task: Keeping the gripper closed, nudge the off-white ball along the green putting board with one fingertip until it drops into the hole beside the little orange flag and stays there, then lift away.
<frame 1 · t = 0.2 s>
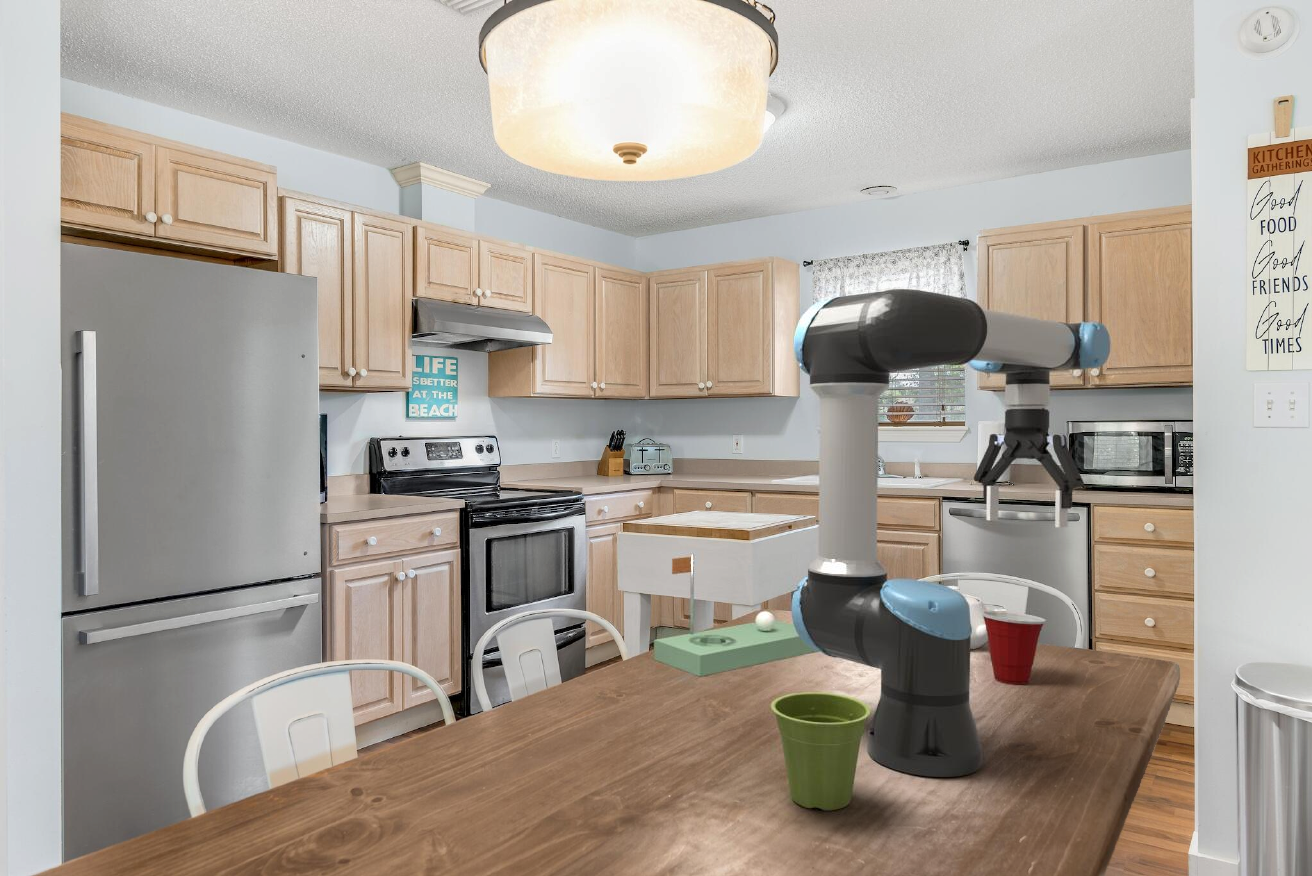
hand: (1025, 523, 157), 28 cm above the table, fingers open, 13 cm apart
plastic cup: (1012, 681, 154), on the table
teapot: (955, 646, 179), on the table
plant pot: (819, 800, 103), on the table
ball: (765, 621, 174), point 6 cm above the table, touching putting board
flag: (691, 634, 170), resting on putting board
putting board: (739, 654, 169), on the table
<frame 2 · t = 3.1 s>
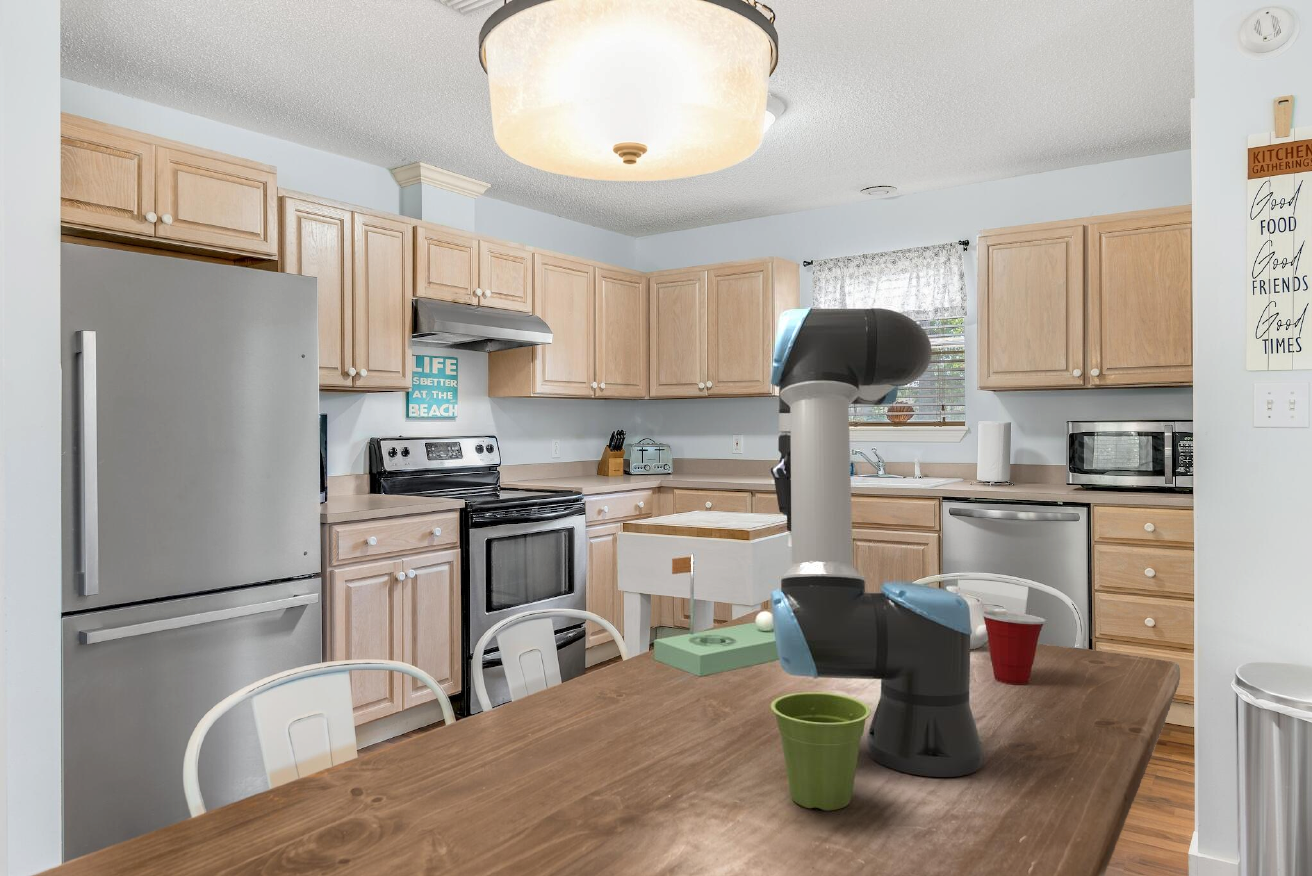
hand: (795, 546, 179), 20 cm above the table, fingers closed
nothing on the table moved.
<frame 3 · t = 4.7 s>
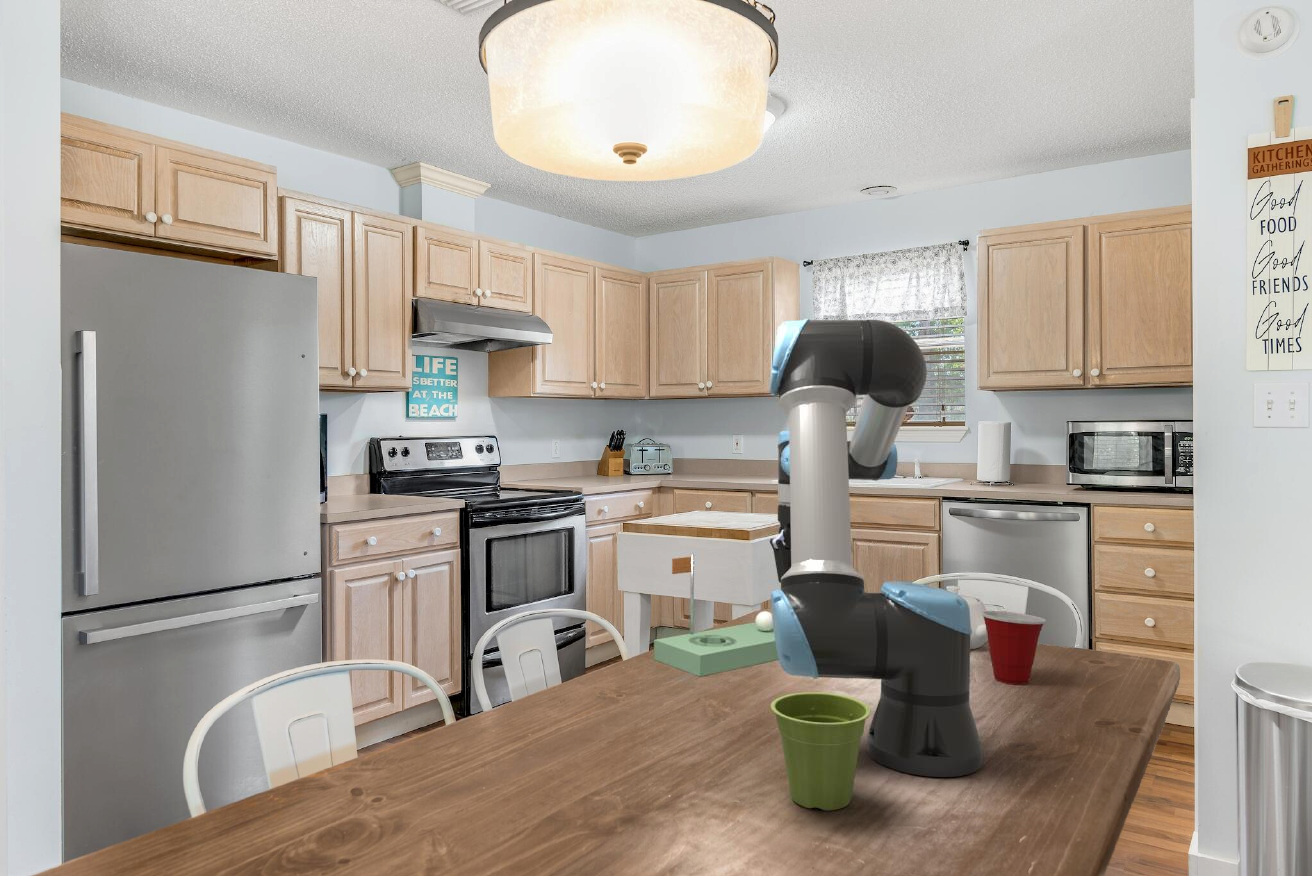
hand: (794, 616, 179), 6 cm above the table, fingers closed
nothing on the table moved.
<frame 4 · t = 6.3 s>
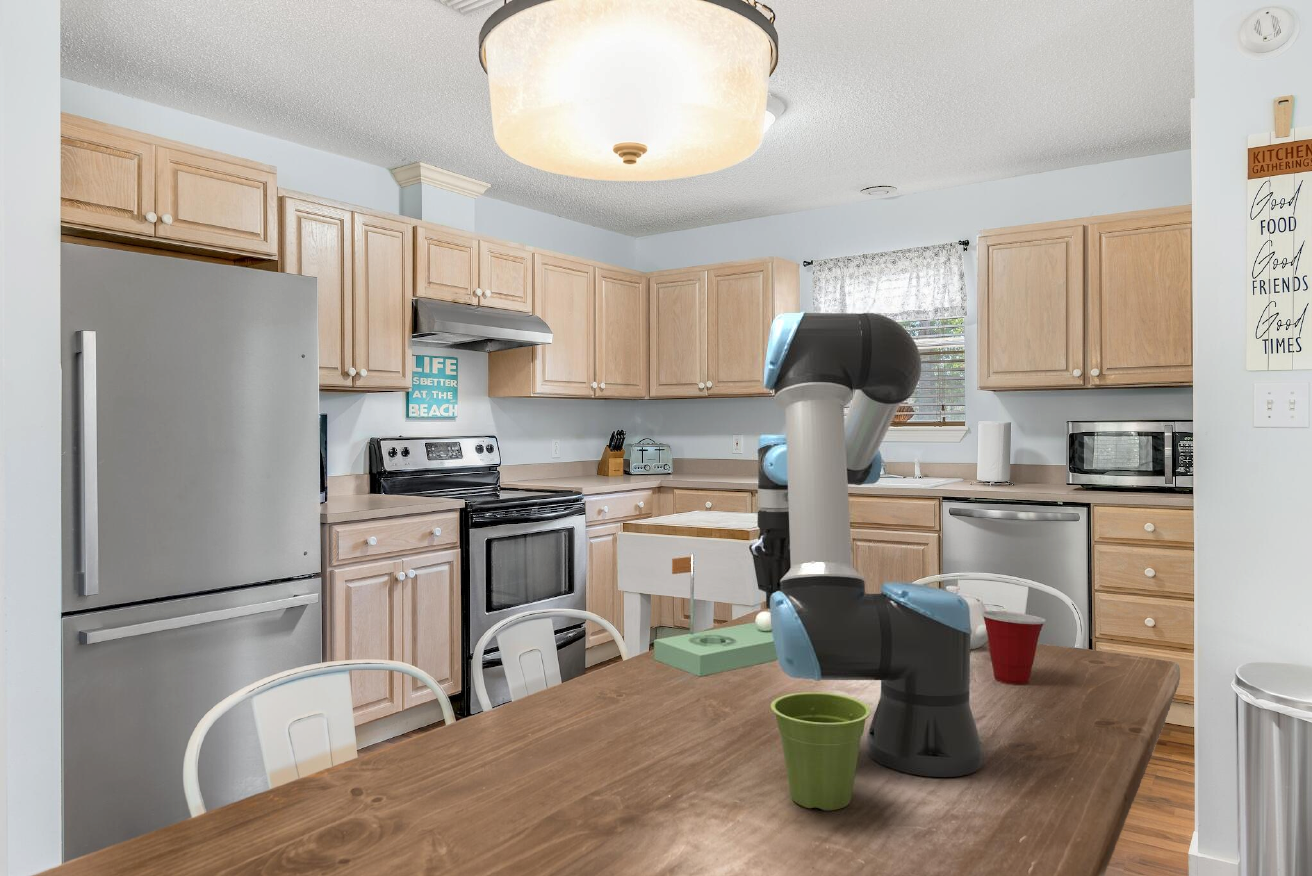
hand: (774, 624, 175), 5 cm above the table, fingers closed
ball: (765, 621, 174), point 6 cm above the table, touching gripper, putting board
everything else where it was.
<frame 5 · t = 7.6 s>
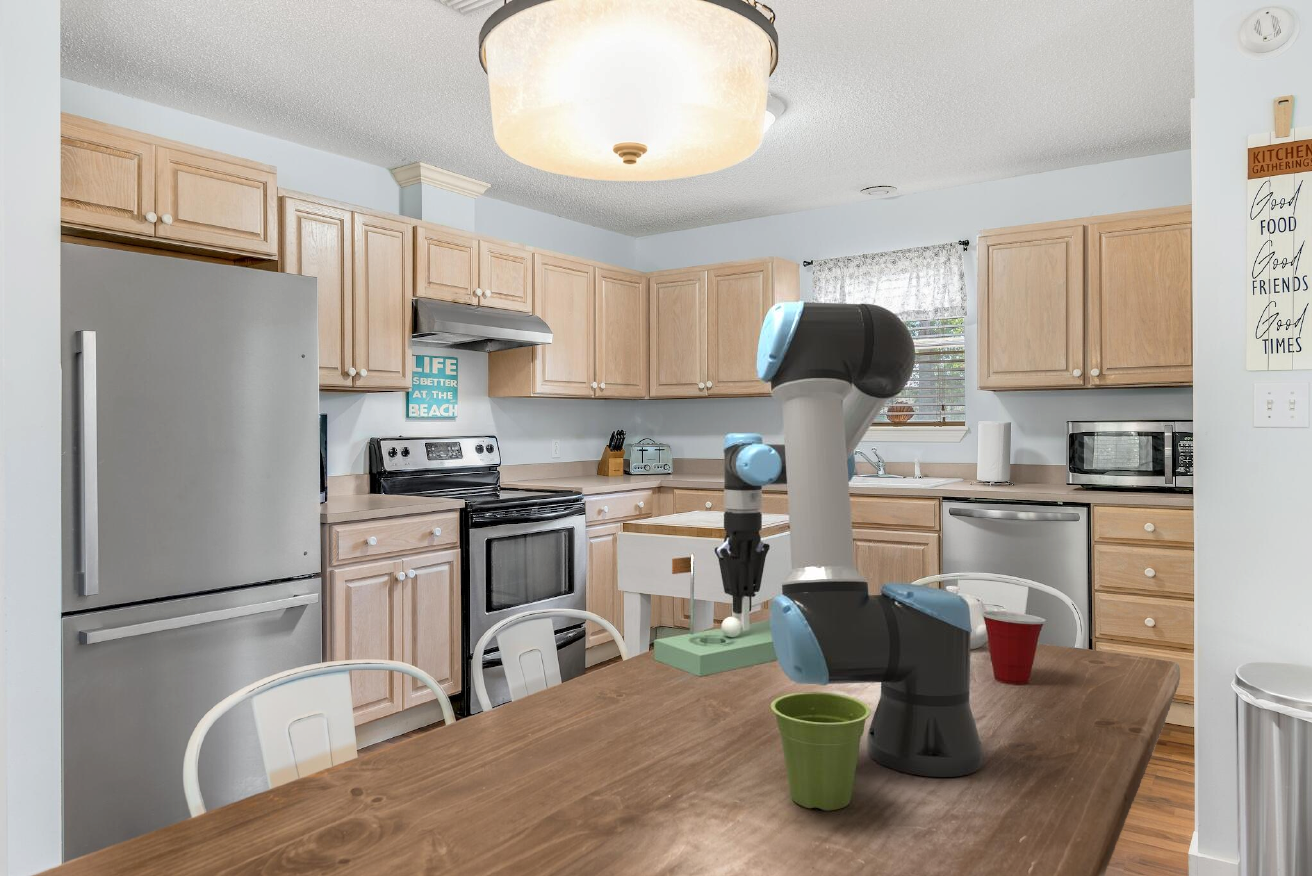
hand: (741, 628, 170), 5 cm above the table, fingers closed
ball: (731, 627, 168), point 6 cm above the table, tilted 155°, touching gripper, putting board
everything else where it was.
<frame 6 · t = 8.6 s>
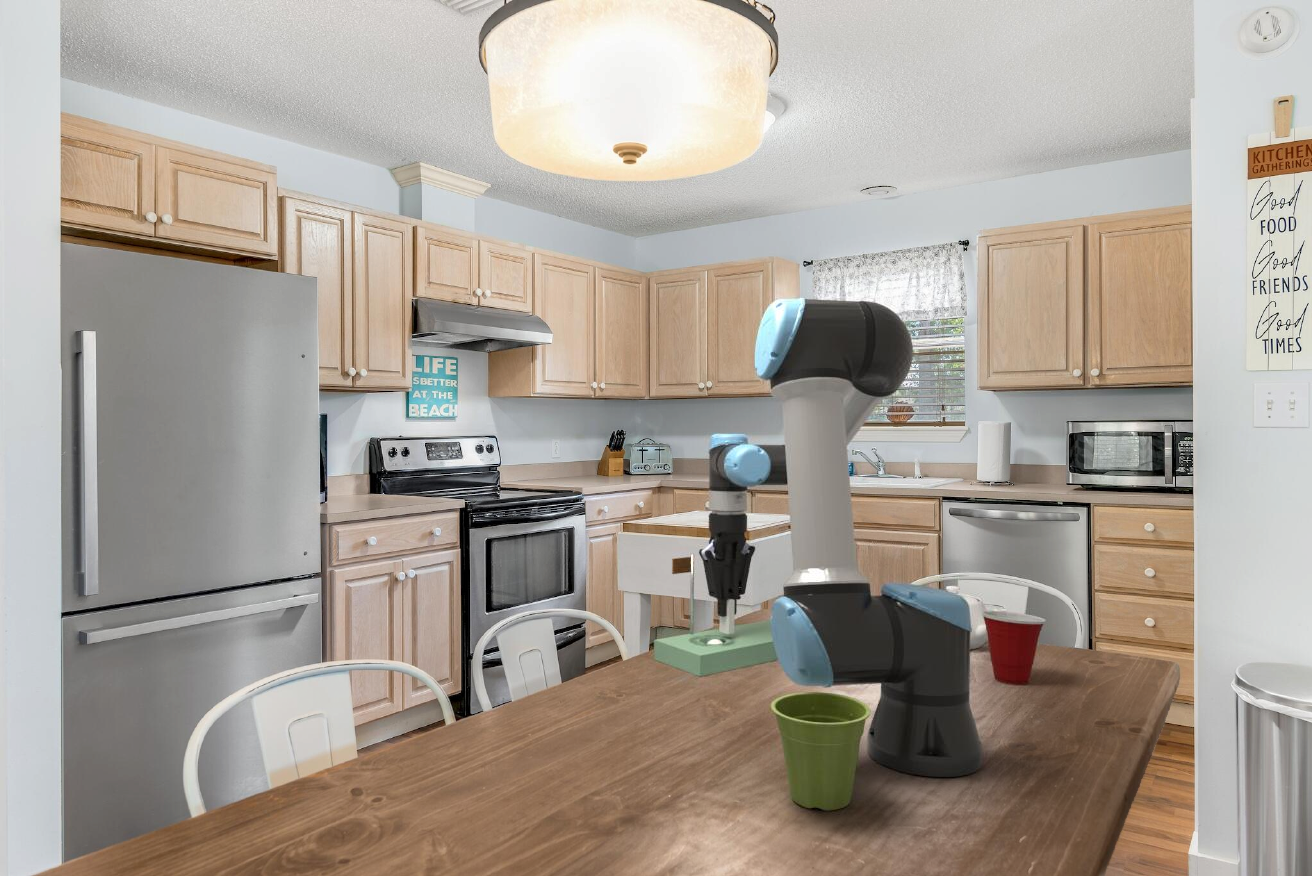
hand: (726, 632, 167), 5 cm above the table, fingers closed
ball: (715, 649, 166), point 2 cm above the table, tilted 25°
everything else where it was.
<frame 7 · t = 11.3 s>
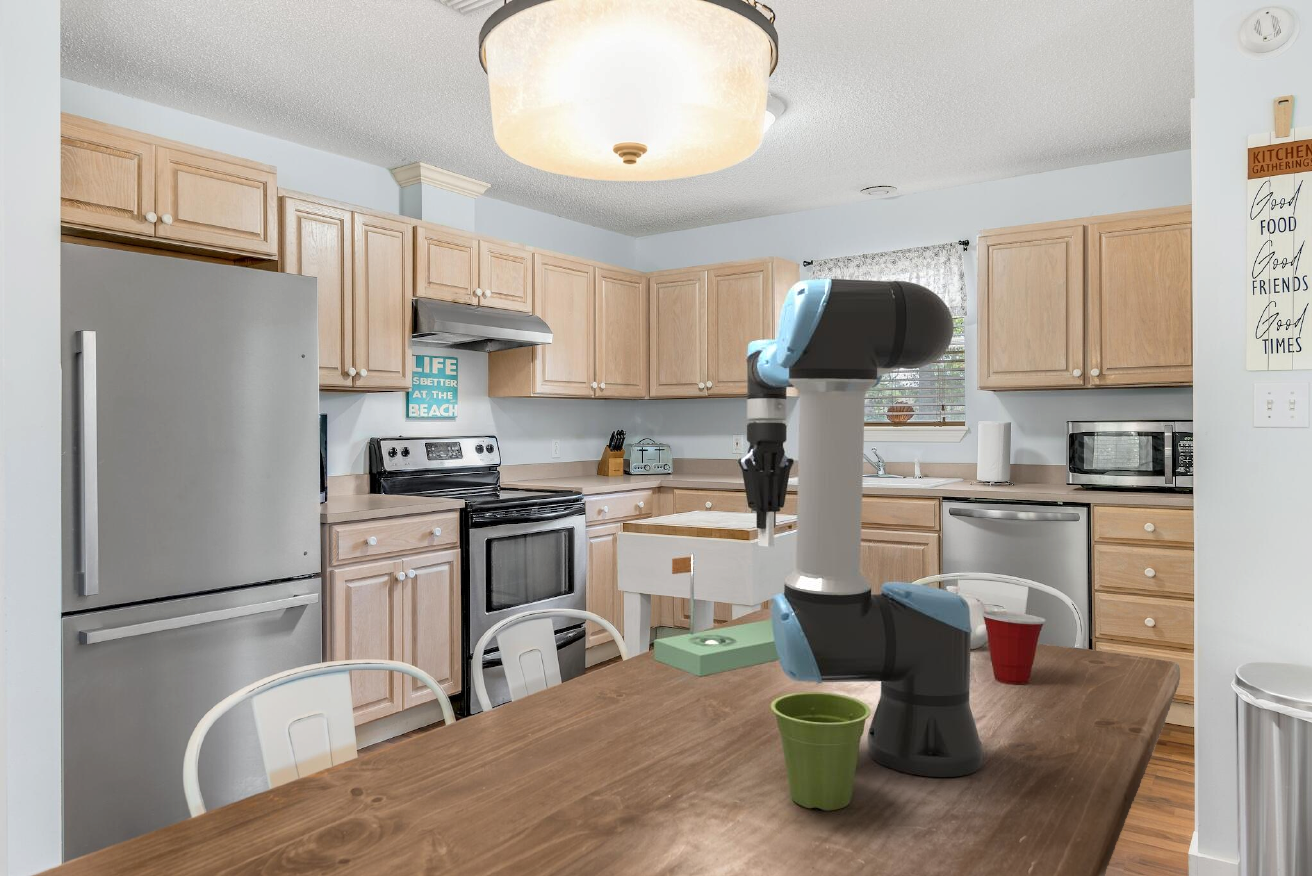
hand: (766, 545, 162), 23 cm above the table, fingers closed
ball: (711, 650, 165), point 2 cm above the table, tilted 54°
everything else where it was.
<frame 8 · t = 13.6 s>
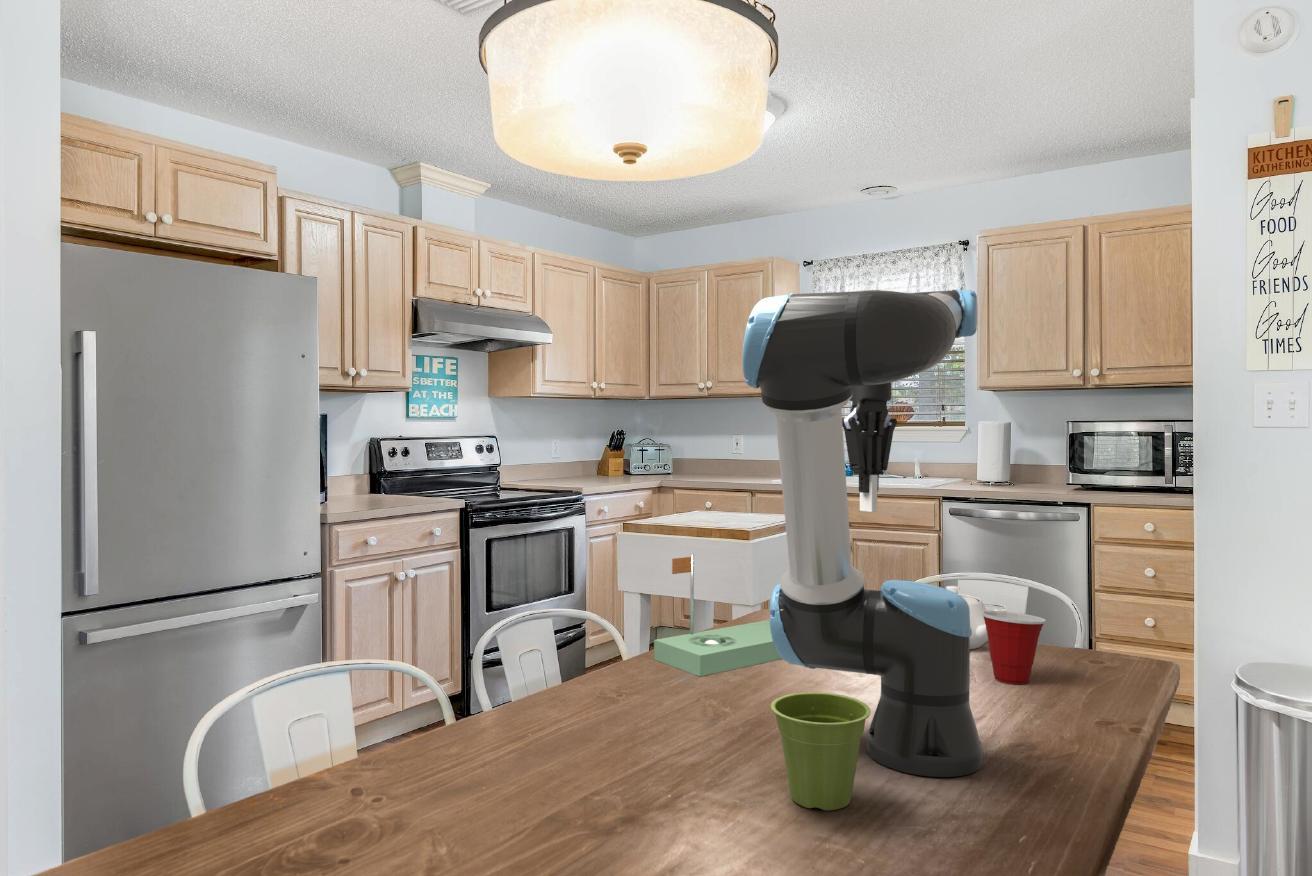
hand: (868, 510, 153), 30 cm above the table, fingers closed
nothing on the table moved.
at the end: ball 0.4 cm from the target spot in the putting board, point 2.0 cm above the putting board's base; ball touching table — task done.
